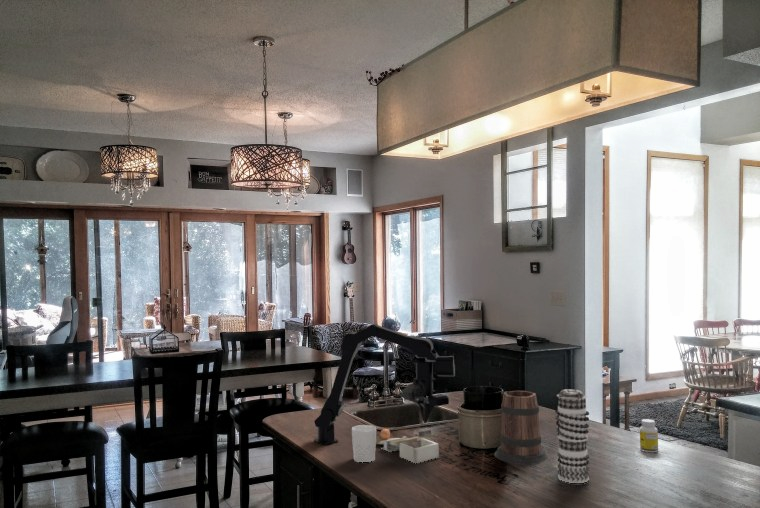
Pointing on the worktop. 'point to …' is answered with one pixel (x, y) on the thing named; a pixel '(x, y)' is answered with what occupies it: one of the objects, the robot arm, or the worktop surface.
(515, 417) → the tankard
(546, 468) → the worktop surface
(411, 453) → the tray
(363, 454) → the white cup
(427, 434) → the lever
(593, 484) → the worktop surface
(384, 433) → the ball
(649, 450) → the supplement bottle
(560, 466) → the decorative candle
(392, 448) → the fulcrum
